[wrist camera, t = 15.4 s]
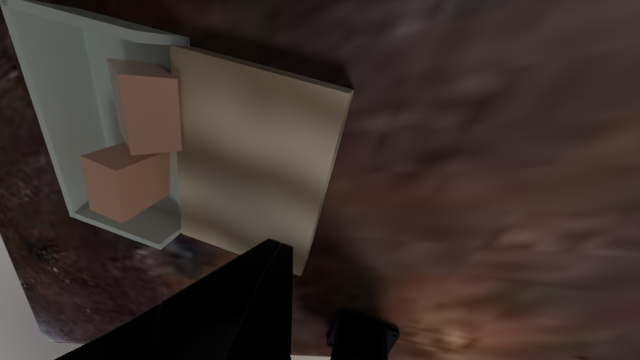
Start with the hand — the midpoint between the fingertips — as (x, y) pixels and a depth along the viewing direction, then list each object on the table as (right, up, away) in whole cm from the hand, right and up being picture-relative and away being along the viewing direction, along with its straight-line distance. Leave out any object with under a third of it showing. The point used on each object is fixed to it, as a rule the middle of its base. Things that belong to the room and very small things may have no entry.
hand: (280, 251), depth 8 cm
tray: (-14, +7, +14) cm, 21 cm away
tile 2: (-13, +2, +13) cm, 19 cm away
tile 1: (-10, +8, +10) cm, 16 cm away
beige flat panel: (-4, +3, +13) cm, 14 cm away
